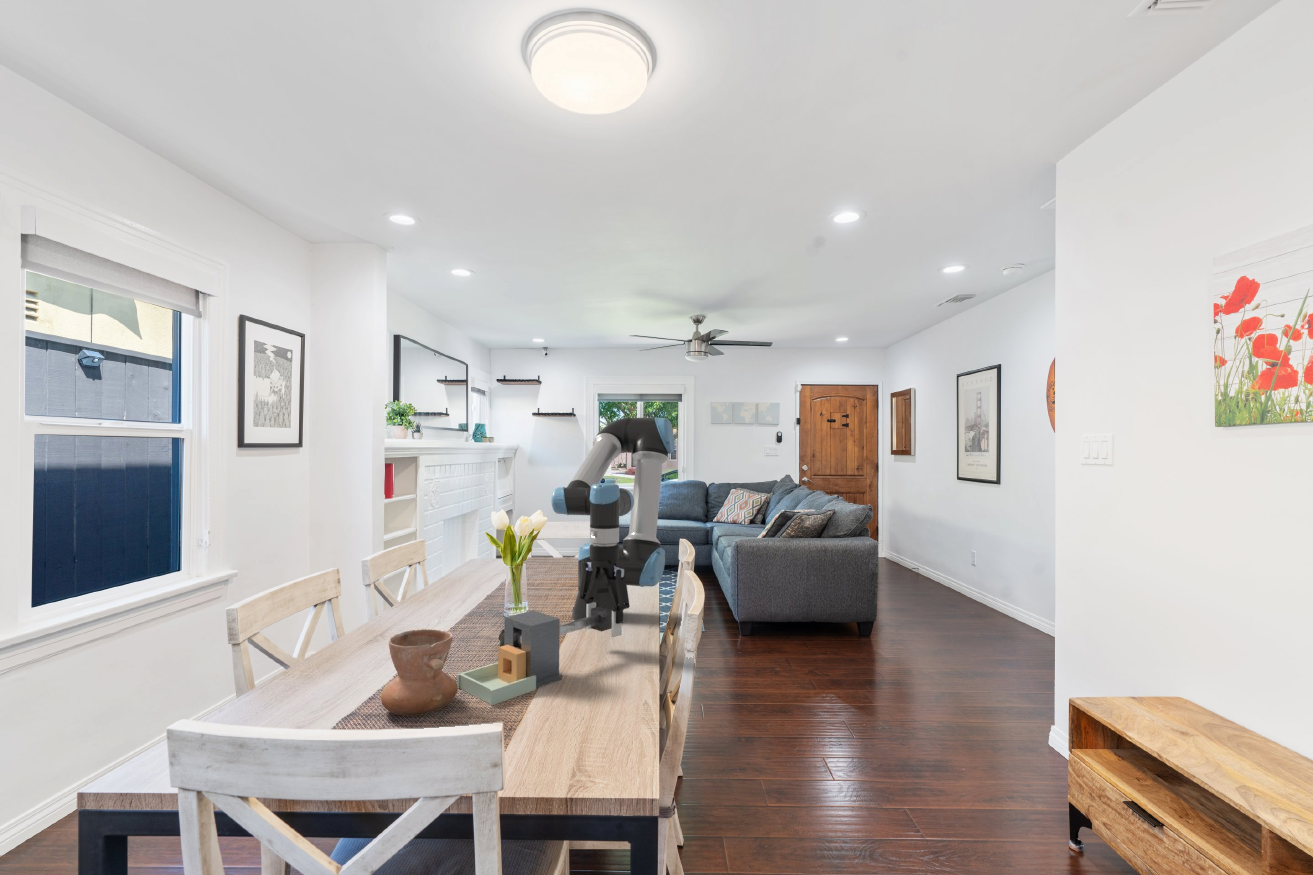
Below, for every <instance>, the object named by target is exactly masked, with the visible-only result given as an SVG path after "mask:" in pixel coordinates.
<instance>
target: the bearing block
mask: <svg viewBox="0 0 1313 875" xmlns="http://www.w3.org/2000/svg"><path fill="white" fill-rule="evenodd" d="M560 619H561V618H558V617H555V616H552V615H549V614H545V613H542V612H539V611H536V610H530V611H526V612H521V613H518V614H517V613H516V614H513V615H509V616H505V617H504V628H503V629H504V646H505V645H510V646H513V647H515V648H518V649H520V650H523V651H526V678H527V677H530V676H533V675H535V676H536V689H538V688H540V687H541V688H542V687H543V686H544V687H545V686H546V685H549V684H550V685H551V684H552V683H555V682H558V681H561V680H562V679H563V674H561V673H560V637H561V635H560V623H561V620H560ZM519 635H522V645H521V646H519V644H518V641H517V639H518V636H519Z"/></svg>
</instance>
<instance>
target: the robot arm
mask: <svg viewBox="0 0 1313 875" xmlns="http://www.w3.org/2000/svg"><path fill="white" fill-rule="evenodd" d="M674 434H675V433H674V430H673V426H672V423H671V421H670V420H669V418H666V417H658V416H657V417H656V416H655V417H622V418H618V419H616V420H614V421H612V422H610V423H608V424H607V425H606V426H604V427H603V428H602V429H601V430H600V431H599V432H598V433H597V434H596V436H595V437H594V439H593V441H592V448H591V449H590V450H589V452H588V453H587V455H586V457H585V459H584V460H583V462H582V463H581V465H580V466H579V468H578V469H577V471H576V472H575V474H574V476H573V477H572V479H571V480H570V481H569V483H568V485H567V486H566V487H565V486H562V487H557V488H555V489H554V490H553V492H552V494H551V499H550V500H551V506H552V511H553V512H554V513H555V514H558V515H566V516H589V543H588V542H587V543H584V544H582V545H581V546H579V548H578V558H577V562H578V563H577V595H576V598H575V601H574V606H573V607H572V609H571V618H572V619H573V621H575V620H579V619H583V618H586V617H590V616H591V608H595V607H599V606H605V607H609V608H613V610H612V629H611V638H617V637H620V636H622V624H623V622H624V610H626V609H629V608H630V598H629V593H628V591H629V590H628V586H634V587H641V588H644V587H655V586H656V585H658V584H659V583H660V581H661V579H662V577H663V574H664V570H665V566H666V550H664V548H662V547H661V542H660V541H659V539H658V538H657V531H658V521H659V520H658V519H659V508H660V498H661V497H660V496H661V485H662V484H661V483H662V473H663V465H664V464H665V463H666V462H667V461H668V459H669V454H673V453H674V452H675V435H674ZM627 453H628V454H629V453H630V454H631V457H632V459H633V460H634V461H635V472H634V480H633V487H632V488H633V490H632V492H631V491H630V490H628V489H626V488H622V487H620V486H619V485H618V484H617V483H611V482H610V483H609V482H607V483H605V482H604V483H601V481H602V480H603V478H604V477H605V475H606V472H607V471H608V469H609V468H610V465H611V464H612V462H613V460H615V459H616V458H618V457H619V456H620V454H627ZM628 513H630V518H629V529H628V534H627V536H625V538H623V539H622V540H623V541H622V545H619V544H618V543H619V542H620V517H623V516H626V515H627V514H628ZM585 629H586V630H592V628H591V627H588V628H585Z"/></svg>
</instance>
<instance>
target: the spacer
mask: <svg viewBox="0 0 1313 875" xmlns="http://www.w3.org/2000/svg"><path fill="white" fill-rule="evenodd" d="M497 651H498V652H497V655H498V656H497V662H498V679H500V680H502V681H504V682H507V683H512V682H515V681H518V680H521V679H524V678H526V651H523V650H520V649H518V648H515V647H513V646H510V645H505V646H501V647H500V646H499V647H498V648H497Z"/></svg>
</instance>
